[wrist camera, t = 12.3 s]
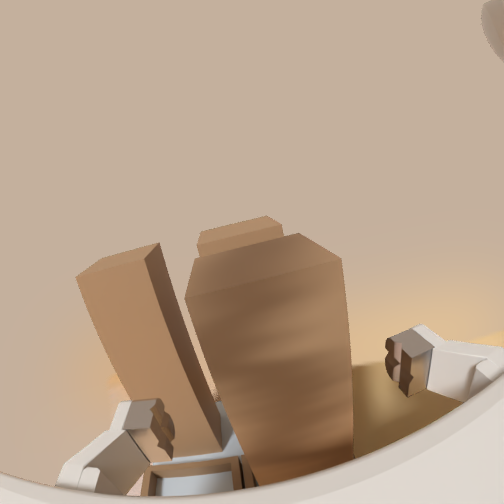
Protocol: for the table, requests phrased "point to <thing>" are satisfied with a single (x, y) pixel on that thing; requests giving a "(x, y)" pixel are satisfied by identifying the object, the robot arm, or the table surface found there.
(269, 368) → the stool leg
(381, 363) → the table surface
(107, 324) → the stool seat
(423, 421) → the table surface
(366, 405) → the table surface
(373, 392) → the table surface
